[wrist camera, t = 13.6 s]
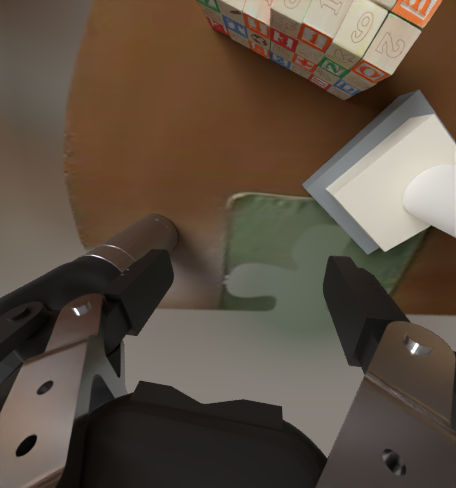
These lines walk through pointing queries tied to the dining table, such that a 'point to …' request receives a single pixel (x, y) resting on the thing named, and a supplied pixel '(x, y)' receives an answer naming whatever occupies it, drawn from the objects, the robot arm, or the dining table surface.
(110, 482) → the robot arm
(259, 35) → the stack of blocks
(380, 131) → the tower base
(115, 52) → the dining table surface
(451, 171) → the can
